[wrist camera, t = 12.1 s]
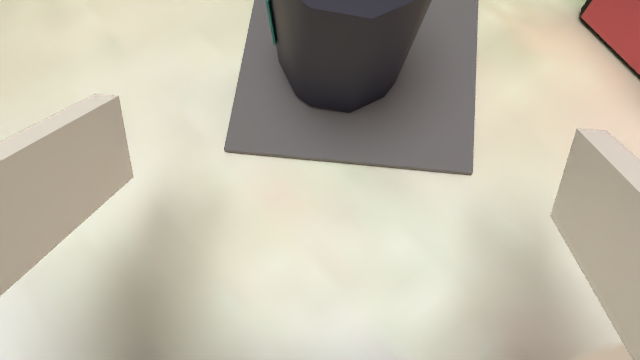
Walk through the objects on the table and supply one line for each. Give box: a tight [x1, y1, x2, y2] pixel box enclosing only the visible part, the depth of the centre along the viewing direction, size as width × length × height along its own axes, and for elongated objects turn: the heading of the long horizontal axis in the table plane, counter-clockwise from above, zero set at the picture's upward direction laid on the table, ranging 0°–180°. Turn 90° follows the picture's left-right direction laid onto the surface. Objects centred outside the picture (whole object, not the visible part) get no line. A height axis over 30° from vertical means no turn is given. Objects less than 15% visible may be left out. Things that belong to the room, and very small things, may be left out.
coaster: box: [224, 0, 478, 175], centre depth 22 cm, size 11×11×1 cm
